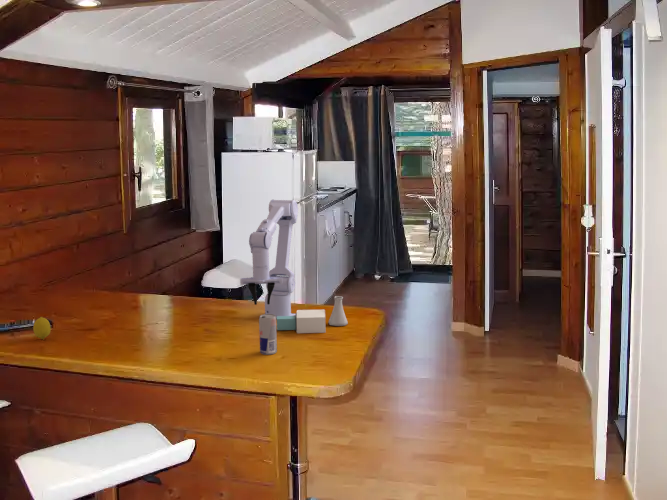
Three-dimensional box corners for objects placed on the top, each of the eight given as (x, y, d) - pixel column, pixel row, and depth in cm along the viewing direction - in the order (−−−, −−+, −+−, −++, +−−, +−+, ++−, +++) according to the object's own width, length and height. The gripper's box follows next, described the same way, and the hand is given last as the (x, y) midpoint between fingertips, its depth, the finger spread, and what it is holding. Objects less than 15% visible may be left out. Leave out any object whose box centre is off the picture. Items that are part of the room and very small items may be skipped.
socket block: (295, 333, 261) (295, 317, 260) (296, 324, 272) (295, 310, 271) (325, 332, 262) (325, 317, 261) (324, 324, 273) (324, 309, 272)
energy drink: (260, 350, 243) (259, 314, 240) (276, 349, 243) (275, 313, 241) (259, 355, 237) (258, 318, 235) (277, 354, 238) (276, 317, 236)
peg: (277, 330, 265) (276, 319, 264) (277, 327, 268) (277, 316, 268) (299, 329, 265) (299, 318, 264) (299, 326, 269) (299, 315, 268)
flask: (347, 327, 269) (347, 299, 267) (327, 326, 269) (327, 299, 267) (348, 321, 276) (349, 294, 274) (328, 320, 276) (329, 294, 274)
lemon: (54, 338, 260) (53, 315, 258) (43, 342, 255) (42, 319, 253) (41, 336, 261) (40, 314, 260) (30, 341, 256) (28, 318, 255)
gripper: (239, 268, 258) (240, 307, 261) (281, 267, 259) (282, 306, 261) (240, 264, 265) (242, 302, 268) (282, 263, 266) (283, 301, 268)
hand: (262, 303), depth 265 cm, fingers open, 4 cm apart
